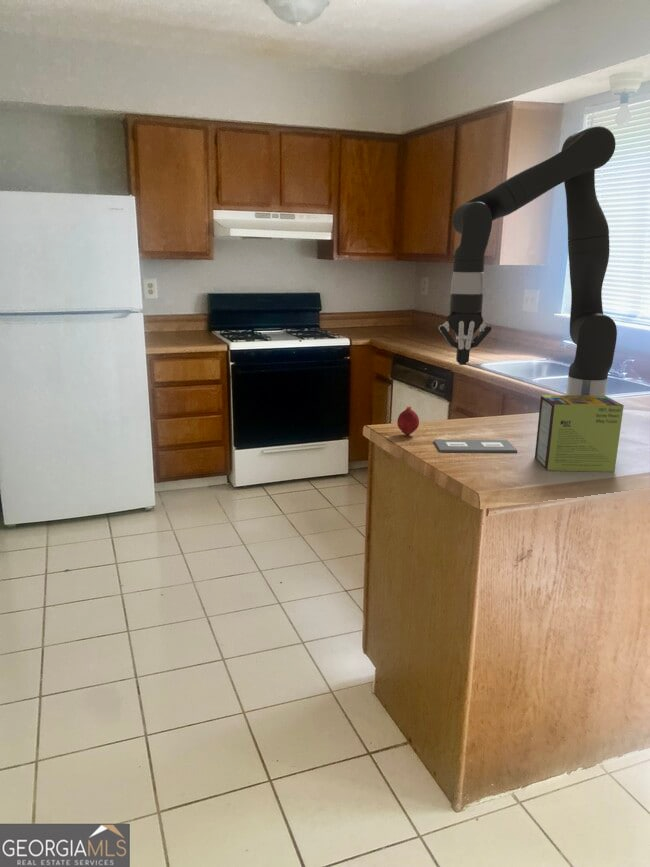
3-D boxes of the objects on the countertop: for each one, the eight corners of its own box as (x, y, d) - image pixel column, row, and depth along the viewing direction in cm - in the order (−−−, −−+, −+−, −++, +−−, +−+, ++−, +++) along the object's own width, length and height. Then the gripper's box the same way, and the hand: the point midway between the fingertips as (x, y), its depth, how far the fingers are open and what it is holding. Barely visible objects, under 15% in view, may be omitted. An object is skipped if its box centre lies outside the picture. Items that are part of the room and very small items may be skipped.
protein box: (615, 472, 144) (625, 405, 140) (546, 471, 144) (554, 404, 140) (597, 458, 154) (606, 395, 150) (533, 457, 154) (539, 394, 150)
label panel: (506, 442, 166) (507, 439, 166) (517, 452, 158) (517, 449, 157) (433, 441, 166) (433, 439, 166) (440, 451, 157) (440, 449, 157)
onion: (417, 438, 169) (419, 409, 166) (395, 437, 170) (396, 408, 167) (419, 433, 174) (420, 404, 172) (397, 431, 175) (398, 403, 173)
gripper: (490, 291, 155) (485, 362, 160) (436, 290, 155) (432, 361, 160) (499, 293, 148) (493, 367, 153) (442, 292, 148) (437, 366, 152)
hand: (462, 364), depth 156 cm, fingers closed
